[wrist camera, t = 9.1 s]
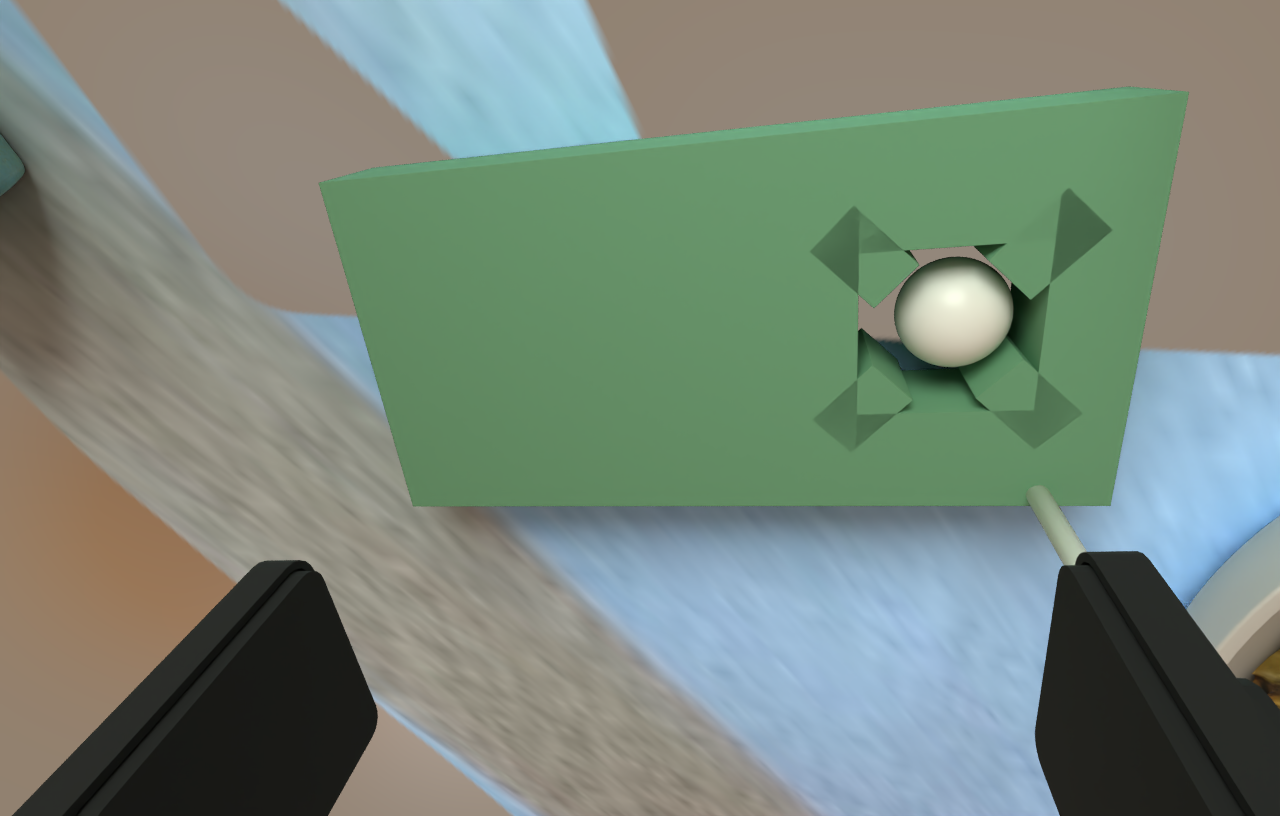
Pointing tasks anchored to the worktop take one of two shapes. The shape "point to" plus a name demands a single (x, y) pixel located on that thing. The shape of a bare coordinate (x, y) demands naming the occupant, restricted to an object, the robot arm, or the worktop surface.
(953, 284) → the ball
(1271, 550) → the bowl
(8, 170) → the flower pot
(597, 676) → the worktop surface
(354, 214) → the putting mat
